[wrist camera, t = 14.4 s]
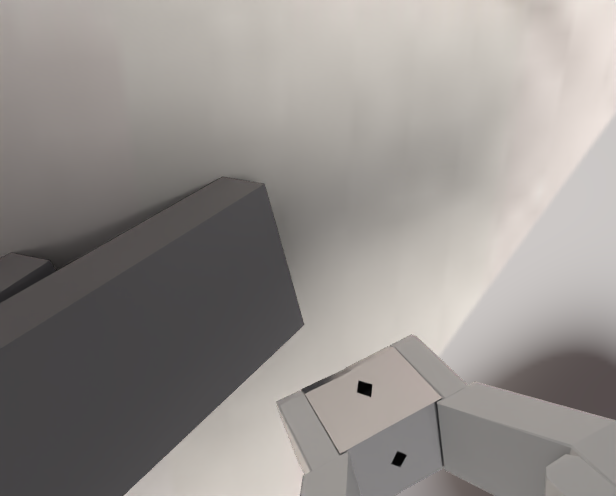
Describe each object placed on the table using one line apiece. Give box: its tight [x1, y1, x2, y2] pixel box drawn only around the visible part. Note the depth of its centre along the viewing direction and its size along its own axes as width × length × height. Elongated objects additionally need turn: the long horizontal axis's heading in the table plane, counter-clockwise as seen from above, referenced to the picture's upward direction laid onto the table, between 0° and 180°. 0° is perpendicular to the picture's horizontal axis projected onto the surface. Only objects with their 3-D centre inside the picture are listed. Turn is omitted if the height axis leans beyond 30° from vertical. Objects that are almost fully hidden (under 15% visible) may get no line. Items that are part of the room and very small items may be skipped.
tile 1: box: [0, 177, 304, 496], centre depth 12 cm, size 2×5×9 cm
